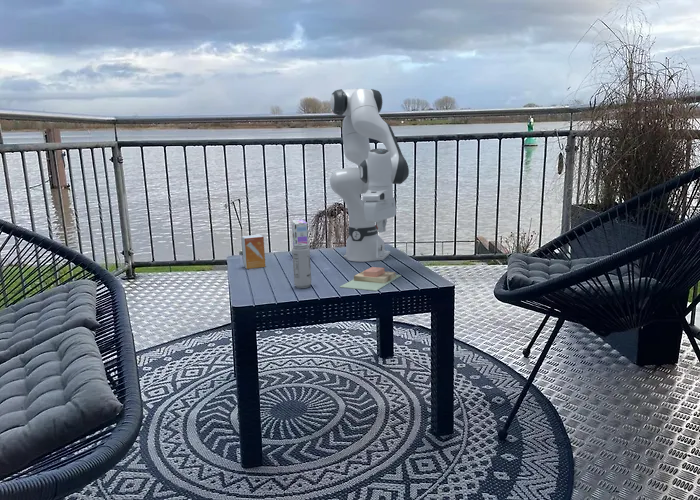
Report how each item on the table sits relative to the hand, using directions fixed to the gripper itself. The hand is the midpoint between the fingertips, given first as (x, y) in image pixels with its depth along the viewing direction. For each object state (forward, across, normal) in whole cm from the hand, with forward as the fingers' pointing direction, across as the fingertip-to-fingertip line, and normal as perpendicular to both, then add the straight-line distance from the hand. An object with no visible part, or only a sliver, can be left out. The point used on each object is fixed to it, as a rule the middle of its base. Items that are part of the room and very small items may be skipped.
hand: (381, 231), depth 191 cm
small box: (+16, +4, -57) cm, 60 cm away
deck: (+16, +6, 0) cm, 18 cm away
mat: (+16, +10, 0) cm, 19 cm away
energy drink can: (+17, +24, -20) cm, 35 cm away
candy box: (+16, -18, -48) cm, 54 cm away
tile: (+14, +7, 0) cm, 16 cm away
